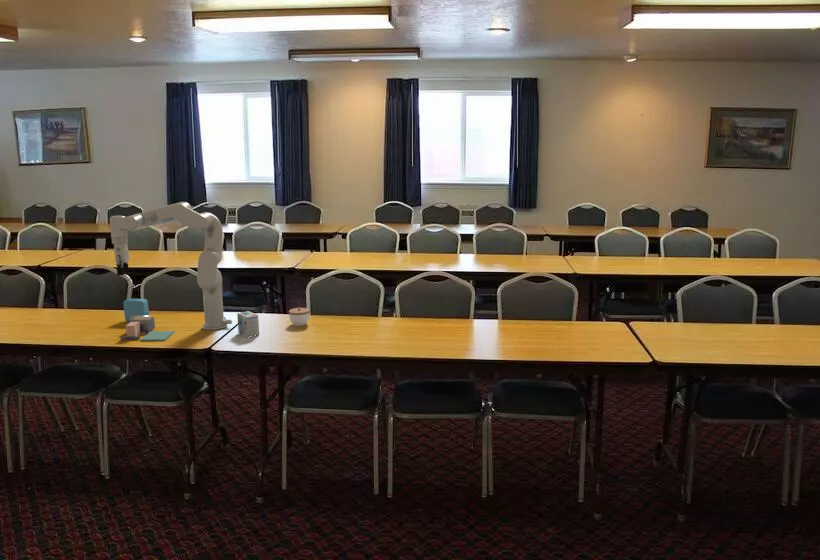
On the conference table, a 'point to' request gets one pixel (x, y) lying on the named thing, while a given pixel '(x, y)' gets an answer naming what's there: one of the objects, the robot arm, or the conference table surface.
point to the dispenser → (141, 325)
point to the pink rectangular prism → (133, 329)
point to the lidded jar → (299, 316)
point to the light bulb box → (248, 324)
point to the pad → (157, 336)
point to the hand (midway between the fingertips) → (123, 273)
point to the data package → (135, 308)
